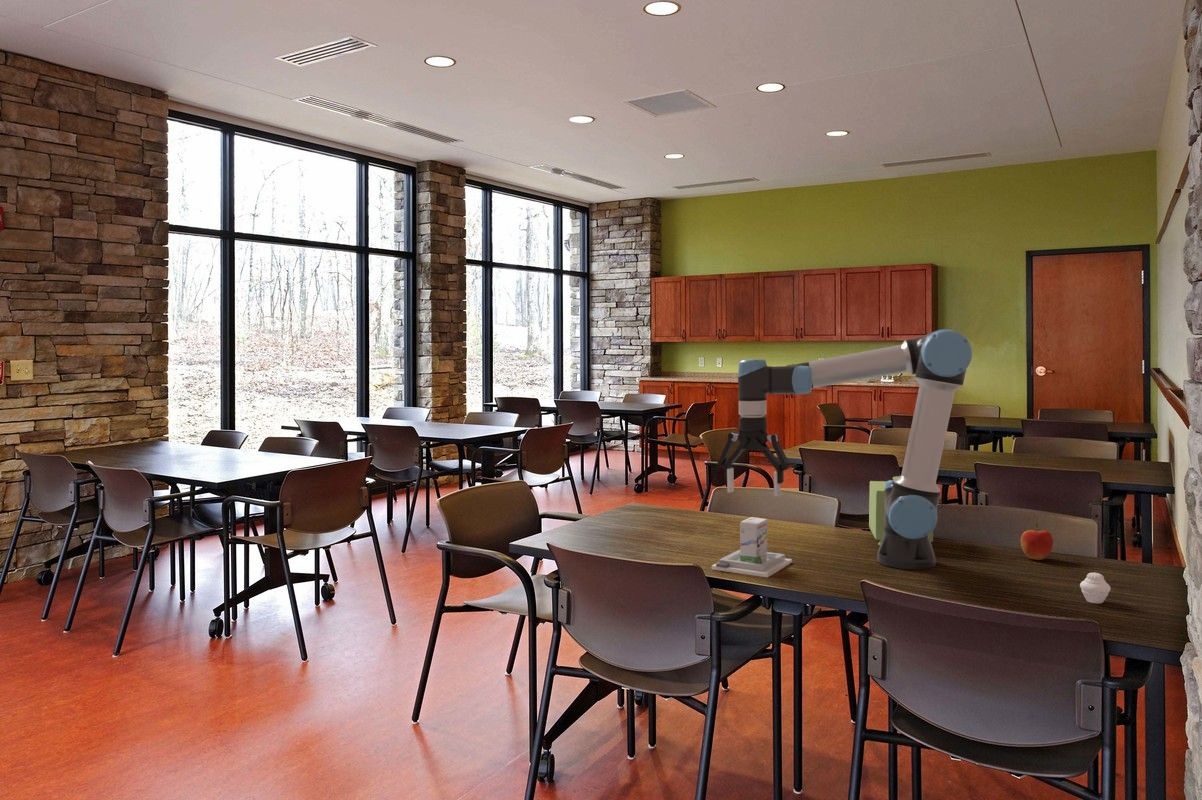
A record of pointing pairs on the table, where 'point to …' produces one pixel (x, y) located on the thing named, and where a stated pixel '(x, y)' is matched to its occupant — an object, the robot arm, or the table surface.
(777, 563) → the white square tray
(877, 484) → the container
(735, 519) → the table surface
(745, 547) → the ink box
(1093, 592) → the muffin
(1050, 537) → the apple
